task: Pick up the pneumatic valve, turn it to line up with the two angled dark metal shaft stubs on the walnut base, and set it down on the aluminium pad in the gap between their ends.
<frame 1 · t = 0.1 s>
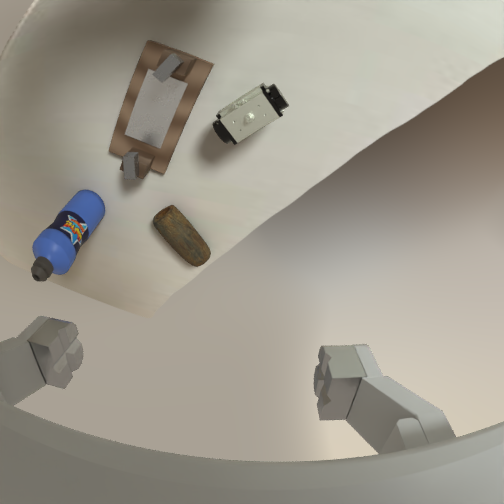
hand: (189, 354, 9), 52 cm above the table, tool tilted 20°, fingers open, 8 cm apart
pneumatic valve: (250, 102, 52), on the table
water bottle: (89, 205, 67), on the table
shaft rig base: (156, 107, 52), on the table
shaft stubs: (148, 113, 48), point 5 cm above the table
brown wooden cylinder: (185, 228, 70), on the table
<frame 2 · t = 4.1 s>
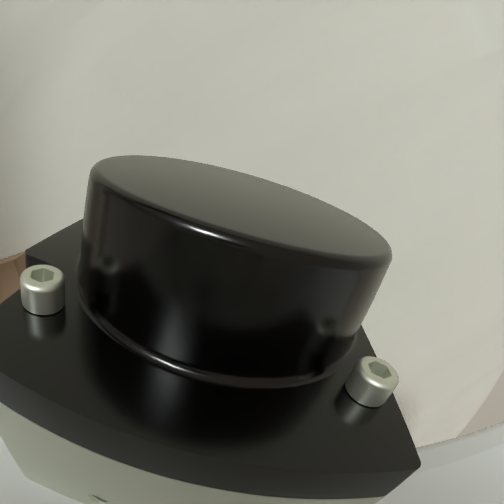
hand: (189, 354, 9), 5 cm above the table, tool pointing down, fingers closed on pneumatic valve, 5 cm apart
pneumatic valve: (209, 287, 14), on the table, touching gripper
shaft rig base: (51, 409, 18), on the table
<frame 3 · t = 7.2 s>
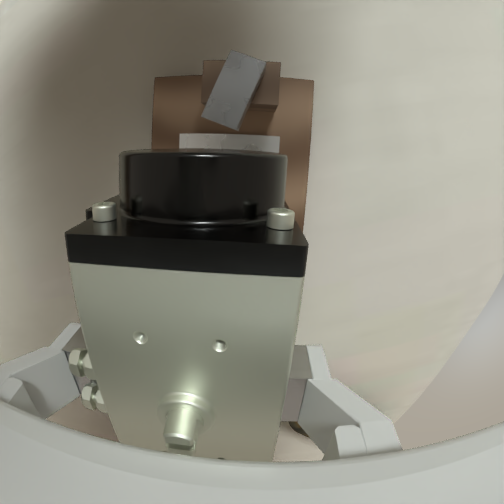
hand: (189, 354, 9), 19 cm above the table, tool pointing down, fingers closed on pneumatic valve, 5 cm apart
pneumatic valve: (215, 254, 17), point 11 cm above the table, touching gripper
shaft rig base: (227, 214, 27), on the table
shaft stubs: (221, 230, 23), point 5 cm above the table
when the fingers open (10 cm above the table, at t = 8.6 s): pneumatic valve stays where it is, resting on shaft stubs.
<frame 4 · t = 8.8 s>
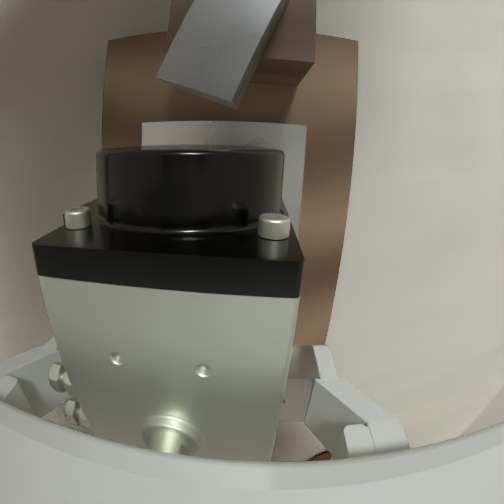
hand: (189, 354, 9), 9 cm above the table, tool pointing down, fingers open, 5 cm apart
pneumatic valve: (213, 256, 16), point 2 cm above the table, touching gripper, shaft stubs
shaft rig base: (221, 247, 18), on the table
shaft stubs: (208, 288, 13), point 5 cm above the table
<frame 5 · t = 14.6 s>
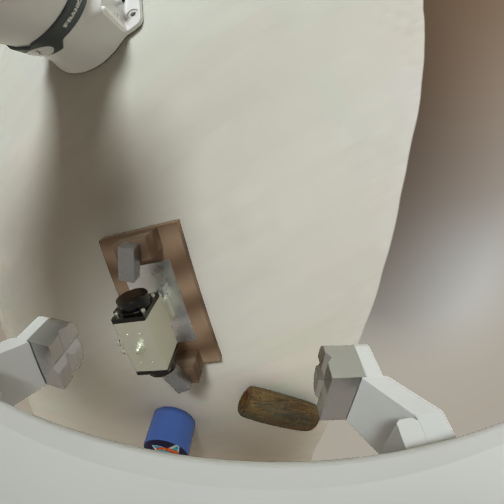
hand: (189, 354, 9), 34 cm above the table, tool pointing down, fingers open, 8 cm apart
pneumatic valve: (160, 305, 46), point 2 cm above the table, touching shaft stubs
water bottle: (174, 419, 58), on the table
shaft rig base: (162, 300, 48), on the table
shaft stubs: (153, 317, 43), point 5 cm above the table
brown wooden cylinder: (278, 398, 55), on the table
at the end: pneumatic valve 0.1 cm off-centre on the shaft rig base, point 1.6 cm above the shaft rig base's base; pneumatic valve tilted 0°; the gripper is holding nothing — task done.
